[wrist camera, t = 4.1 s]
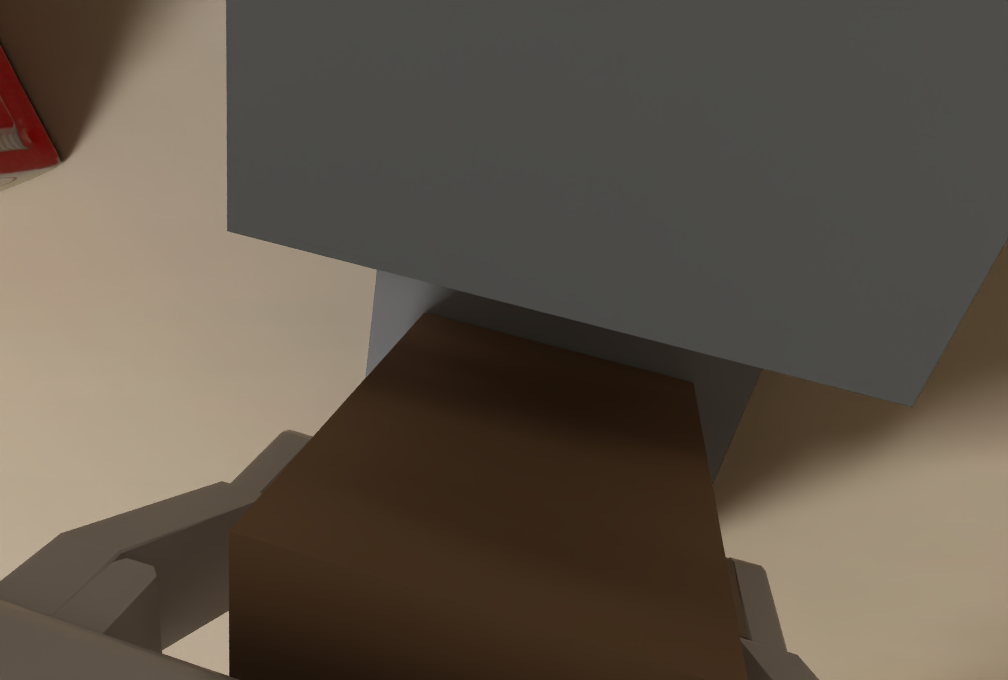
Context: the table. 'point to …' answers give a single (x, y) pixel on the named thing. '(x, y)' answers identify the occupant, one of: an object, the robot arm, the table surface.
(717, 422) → the code tile
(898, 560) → the table surface
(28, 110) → the stack of blocks
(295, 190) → the slate-blue block
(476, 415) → the walnut block
